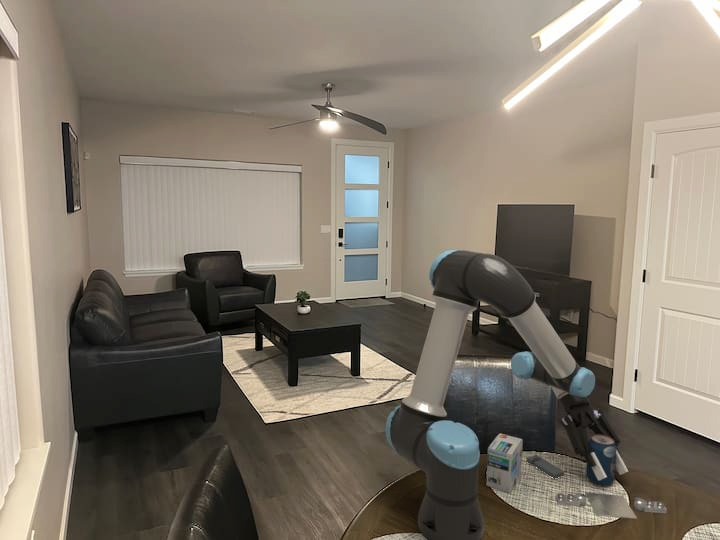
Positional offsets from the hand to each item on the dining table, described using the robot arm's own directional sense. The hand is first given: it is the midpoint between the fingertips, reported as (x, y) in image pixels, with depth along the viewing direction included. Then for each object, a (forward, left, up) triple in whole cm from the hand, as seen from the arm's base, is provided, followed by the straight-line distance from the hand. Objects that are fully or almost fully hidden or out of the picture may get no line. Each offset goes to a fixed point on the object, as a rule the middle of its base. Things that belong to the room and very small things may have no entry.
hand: (613, 475), depth 133 cm
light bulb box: (-28, 0, -4) cm, 28 cm away
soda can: (-2, +4, -4) cm, 6 cm away
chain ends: (-3, -8, -4) cm, 9 cm away
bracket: (-15, +8, -4) cm, 18 cm away
